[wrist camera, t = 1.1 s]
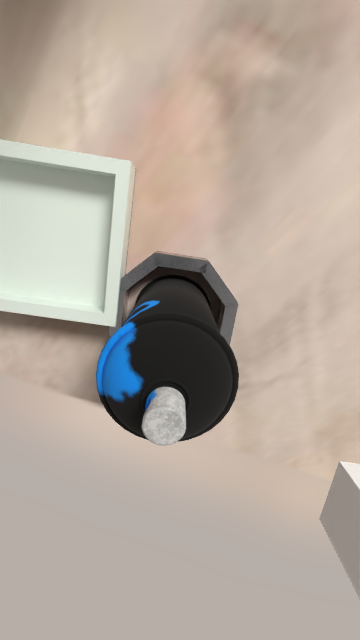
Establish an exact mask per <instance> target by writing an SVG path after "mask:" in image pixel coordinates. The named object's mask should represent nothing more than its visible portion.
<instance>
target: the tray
mask: <svg viewBox="0 0 360 640" xmlns="http://www.w3.org/2000/svg"><path fill="white" fill-rule="evenodd" d="M135 173H136V168H135V166H134V165H133V163H132V162H131V161H127V160H121V159H115V158H109V157H103V156H97V155H91V154H85V153H79V152H73V151H67V150H61V149H55V148H49V147H43V146H37V145H31V144H25V143H19V142H13V141H7V140H1V139H0V311H6V312H13V313H20V314H27V315H34V316H41V317H48V318H55V319H62V320H70V321H77V322H84V323H91V324H98V325H105V326H112V327H116V323H117V313H118V303H119V292H120V282H121V278H122V277H124V276H125V273H126V263H127V253H128V243H129V233H130V223H131V213H132V203H133V193H134V183H135Z"/></svg>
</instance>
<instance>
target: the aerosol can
mask: <svg viewBox="0 0 360 640" xmlns="http://www.w3.org/2000/svg"><path fill="white" fill-rule="evenodd" d="M238 379H239V373H238V366H237V361H236V359H235V356H234V353H233V351H232V349H231V347H230V346H229V344H228V343H227V341H226V340H225V338H224V337H223V336H222V335H221V334H220V332H219V330H218V327H217V325H216V322H215V320H214V318H213V315H212V313H211V306H210V301H209V299H208V296H207V295H206V293H205V292H204V290H203V289H202V288H201V287H200V286H199V285H198V284H197V283H196V282H194V281H193V280H191V279H189V278H186V277H183V276H178V275H167V276H162V277H159V278H157V279H154V280H153V281H151V282H150V283H148V284H147V285H146V286H145V287H144V288H143V289H142V291H141V292H140V294H139V296H138V298H137V301H136V304H135V307H134V309H133V310H132V312H131V313H130V315H129V317H128V318H127V320H126V321H125V323H124V325H123V326H122V327H121V328H119V329H118V330H117V331H116V332H115V333H114V334H113V335H112V336H111V337H110V338H109V340H108V342H107V343H106V345H105V346H104V348H103V349H102V352H101V355H100V357H99V360H98V364H97V372H96V380H97V389H98V393H99V396H100V399H101V402H102V403H103V405H104V407H105V409H106V411H107V412H108V413H109V414H110V416H111V417H112V418H113V419H114V420H115V422H117V423H118V424H119V425H120V426H122V427H123V428H124V429H125V430H127V431H129V432H131V433H132V434H134V435H136V436H139V437H142V438H144V439H147V440H150V441H151V442H153V443H155V444H158V445H171V444H173V443H176V442H178V441H184V440H189V439H192V438H195V437H197V436H200V435H202V434H204V433H205V432H207V431H209V430H211V429H212V428H213V427H214V426H216V425H217V424H218V423H219V422H220V421H221V420H222V419H223V418H224V417H225V415H226V414H227V413H228V412H229V410H230V408H231V406H232V404H233V402H234V400H235V397H236V393H237V389H238Z"/></svg>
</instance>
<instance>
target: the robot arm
mask: <svg viewBox="0 0 360 640" xmlns="http://www.w3.org/2000/svg"><path fill="white" fill-rule="evenodd" d="M320 521H321V523H322V525H323V527H324V529H325V530H326V533H327V535H328V537H329V539H330V541H331V543H332V545H333V547H334V549H335V551H336V553H337V554H338V557H339V559H340V561H341V562H342V565H343V567H344V568H345V571H346V573H347V574H348V576H349V578H350V581H351V583H352V585H353V587H354V589H355V591H356V593H357V594H358V596H359V598H360V464H356V463H349V462H341V461H339V464H338V467H337V470H336V473H335V476H334V479H333V481H332V485H331V487H330V490H329V493H328V496H327V499H326V502H325V504H324V507H323V510H322V513H321V516H320Z"/></svg>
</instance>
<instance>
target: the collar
mask: <svg viewBox="0 0 360 640" xmlns="http://www.w3.org/2000/svg"><path fill="white" fill-rule="evenodd" d="M158 266H161V267H168V268H175V269H181V270H188V271H194V272H201V273H202V274H203V276H204V277H205V278H206V280H207V281H208V283H209V284H210V285H211V287H212V288H213V290H214V291H215V292H216V294H217V295H218V297H219V298H220V299H221V301H222V303H221V309H220V314H219V319H218V324H217V327H218V330H219V332H220V334H221V335H222V336H223V337H224V338H225V340H226V341H227V343H228V344H229V346H230V341H231V336H232V331H233V327H234V322H235V317H236V312H237V307H238V302H237V301H236V299H235V298H234V296H233V295H232V293H231V292H230V291H229V289H228V288H227V286H226V285H225V283H224V282H223V281H222V279H221V278H220V276H219V275H218V274H217V272H216V271H215V269H214V268H213V266H212V265H211V264H210V262H209V261H208V260H207V259H205V258H198V257H192V256H185V255H179V254H172V253H166V252H159V251H157V252H155V253H154V254H152V255H151V256H150V257H148V258H147V259H146V260H144V261H143V262H142V263H141V264H139V265H138V266H137V267H135V268H134V269H133V270H131V271H130V272H129V273H128V274H126V275H125V276H124V277H122V278H121V282H120V292H119V303H118V313H117V323H116V327H112V326H109V336H110V337H111V336H112V335H113V334H114V333H115V332H116V331H117V330H118V329H119V328H121V327H122V326H123V325H124V323H125V320H126V310H127V301H128V291H129V288H130V287H131V286H133V285H134V284H135V283H137V282H138V281H139V280H141V279H142V278H143V277H145V276H146V275H147V274H149V273H150V272H151V271H153V270H154V269H155V268H157V267H158Z"/></svg>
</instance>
